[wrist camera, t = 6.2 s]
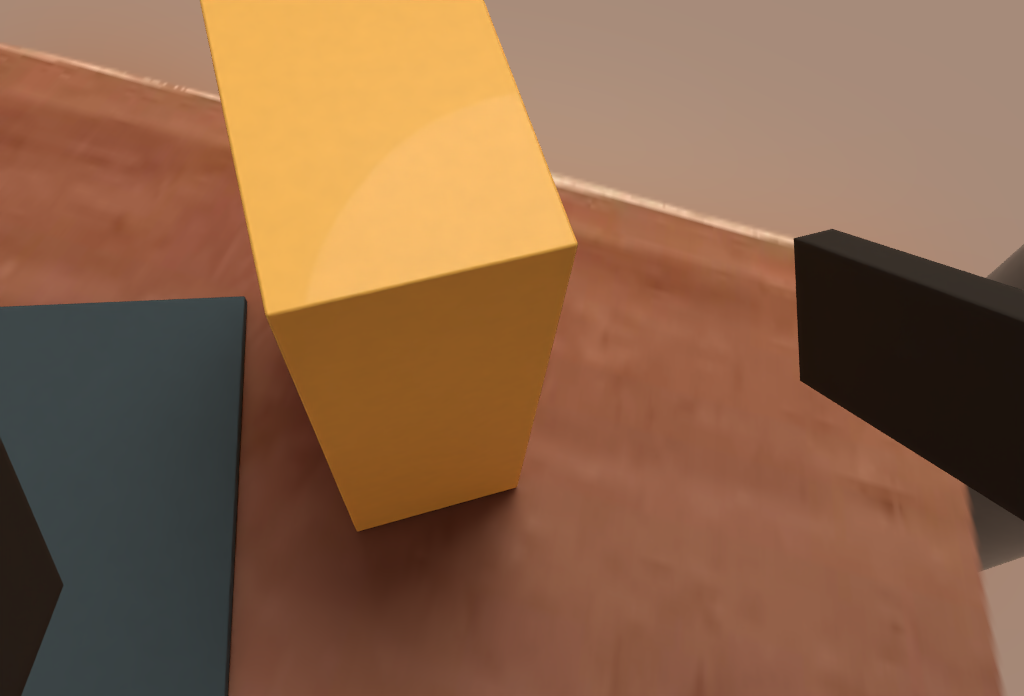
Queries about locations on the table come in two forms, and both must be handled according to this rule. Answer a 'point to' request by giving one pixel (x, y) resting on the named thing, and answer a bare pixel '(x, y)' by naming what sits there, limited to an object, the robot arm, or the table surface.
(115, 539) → the slate mat
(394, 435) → the cereal box
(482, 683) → the table surface
